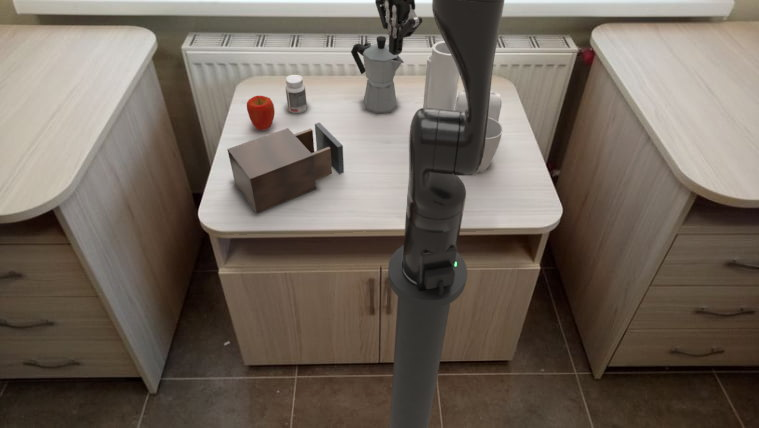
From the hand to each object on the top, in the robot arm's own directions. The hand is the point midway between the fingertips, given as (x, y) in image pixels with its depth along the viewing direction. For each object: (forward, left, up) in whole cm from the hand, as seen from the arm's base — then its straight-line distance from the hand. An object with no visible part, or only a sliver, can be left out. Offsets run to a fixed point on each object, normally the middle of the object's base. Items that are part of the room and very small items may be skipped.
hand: (395, 53), depth 112 cm
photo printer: (-3, -19, -22) cm, 30 cm away
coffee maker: (+16, 0, -22) cm, 28 cm away
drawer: (-8, +20, -21) cm, 30 cm away
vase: (+6, -13, -22) cm, 27 cm away
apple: (+12, +29, -22) cm, 38 cm away
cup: (-13, -16, -22) cm, 31 cm away
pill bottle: (+18, +20, -22) cm, 35 cm away
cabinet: (-10, +28, -22) cm, 37 cm away
